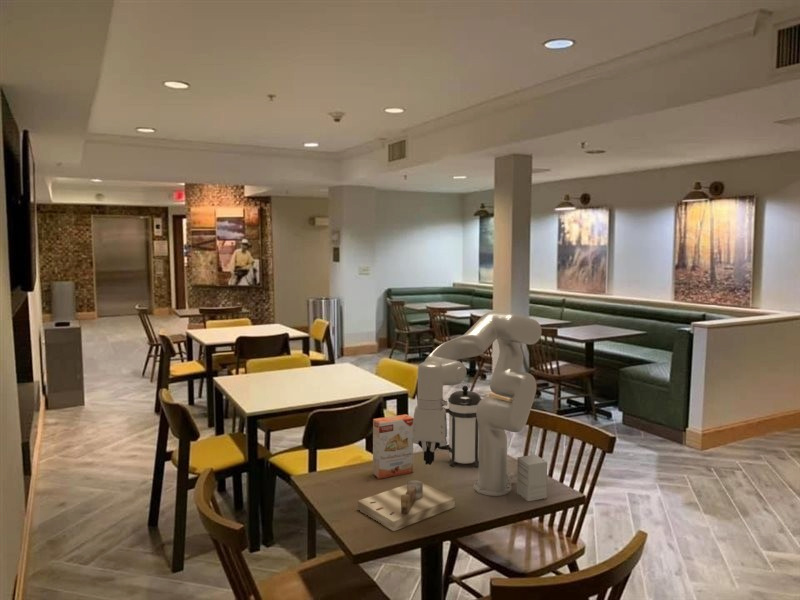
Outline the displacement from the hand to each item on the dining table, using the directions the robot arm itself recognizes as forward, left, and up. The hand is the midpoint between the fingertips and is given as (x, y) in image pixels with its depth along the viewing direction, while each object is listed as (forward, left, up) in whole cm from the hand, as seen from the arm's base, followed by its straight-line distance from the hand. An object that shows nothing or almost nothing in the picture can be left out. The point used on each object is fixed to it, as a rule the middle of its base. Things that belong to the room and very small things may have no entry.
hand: (428, 463), depth 178 cm
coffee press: (-41, -27, -18) cm, 53 cm away
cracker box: (-14, -35, -18) cm, 42 cm away
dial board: (0, -10, -18) cm, 21 cm away
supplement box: (-38, +9, -18) cm, 43 cm away
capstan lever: (+2, -7, -15) cm, 16 cm away
